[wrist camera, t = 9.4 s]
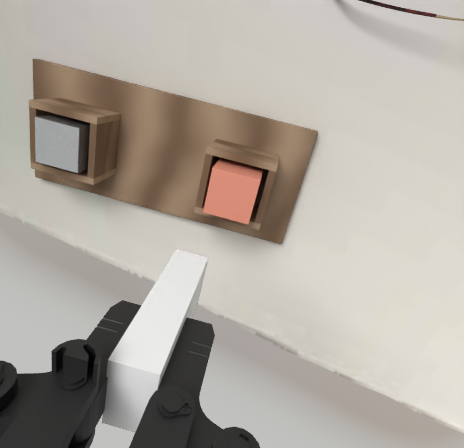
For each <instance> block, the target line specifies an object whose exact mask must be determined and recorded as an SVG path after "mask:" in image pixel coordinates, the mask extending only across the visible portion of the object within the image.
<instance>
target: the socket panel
mask: <svg viewBox="0 0 464 448" xmlns="http://www.w3.org/2000/svg"><path fill="white" fill-rule="evenodd" d="M33 89H34V99H33V100H29V111H30V151H31V168H32V169H35V177H37V178H41V179H44V180H48V181H52V182H55V183H59V184H63V185H66V186H70V187H74V188H77V189H81V190H85V191H88V192H92V193H96V194H99V195H103V196H107V197H110V198H114V199H118V200H121V201H125V202H129V203H132V204H136V205H140V206H143V207H147V208H151V209H154V210H158V211H162V212H165V213H169V214H173V215H176V216H180V217H184V218H187V219H191V220H195V221H198V222H202V223H206V224H209V225H213V226H217V227H220V228H224V229H228V230H231V231H235V232H239V233H242V234H246V235H250V236H253V237H257V238H261V239H264V240H268V241H272V242H275V243H279V244H281V243H282V240H283V237H284V234H285V231H286V228H287V225H288V222H289V219H290V216H291V213H292V210H293V207H294V203H295V200H296V197H297V194H298V191H299V188H300V185H301V182H302V179H303V176H304V173H305V170H306V167H307V164H308V161H309V158H310V155H311V152H312V149H313V146H314V143H315V140H316V137H317V134H318V132H317V131H315V130H311V129H307V128H303V127H300V126H296V125H292V124H288V123H284V122H280V121H276V120H272V119H269V118H265V117H261V116H257V115H253V114H249V113H245V112H241V111H238V110H234V109H230V108H226V107H222V106H218V105H214V104H210V103H207V102H203V101H199V100H195V99H191V98H187V97H183V96H179V95H176V94H172V93H168V92H164V91H160V90H156V89H152V88H148V87H145V86H141V85H137V84H133V83H129V82H125V81H121V80H117V79H114V78H110V77H106V76H102V75H98V74H94V73H90V72H86V71H83V70H79V69H75V68H71V67H67V66H63V65H59V64H55V63H52V62H48V61H44V60H40V59H33ZM52 114H58V115H62V116H66V117H70V118H73V119H77V120H81V121H85V122H89V123H90V138H89V158H88V169H86V170H83V171H81V172H79V173H76V172H72V171H68V170H64V169H61V168H57V167H53V166H50V165H46V164H42V163H39V162H36V152H35V117H36V116H44V115H52ZM220 158H225V159H229V160H232V161H236V162H240V163H244V164H248V165H251V166H255V167H259V168H263V172H262V177H261V181H260V184H259V188H258V192H257V195H256V199H255V203H254V206H253V210H252V213H251V217H250V221H249V224H244V223H240V222H237V221H233V220H229V219H226V218H222V217H218V216H215V215H211V214H207V213H203V210H204V206H205V201H206V196H207V191H208V187H209V182H210V177H211V172H212V168H213V166H214V165H215V164H216V163H217V162H218V161H219V159H220Z"/></svg>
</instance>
